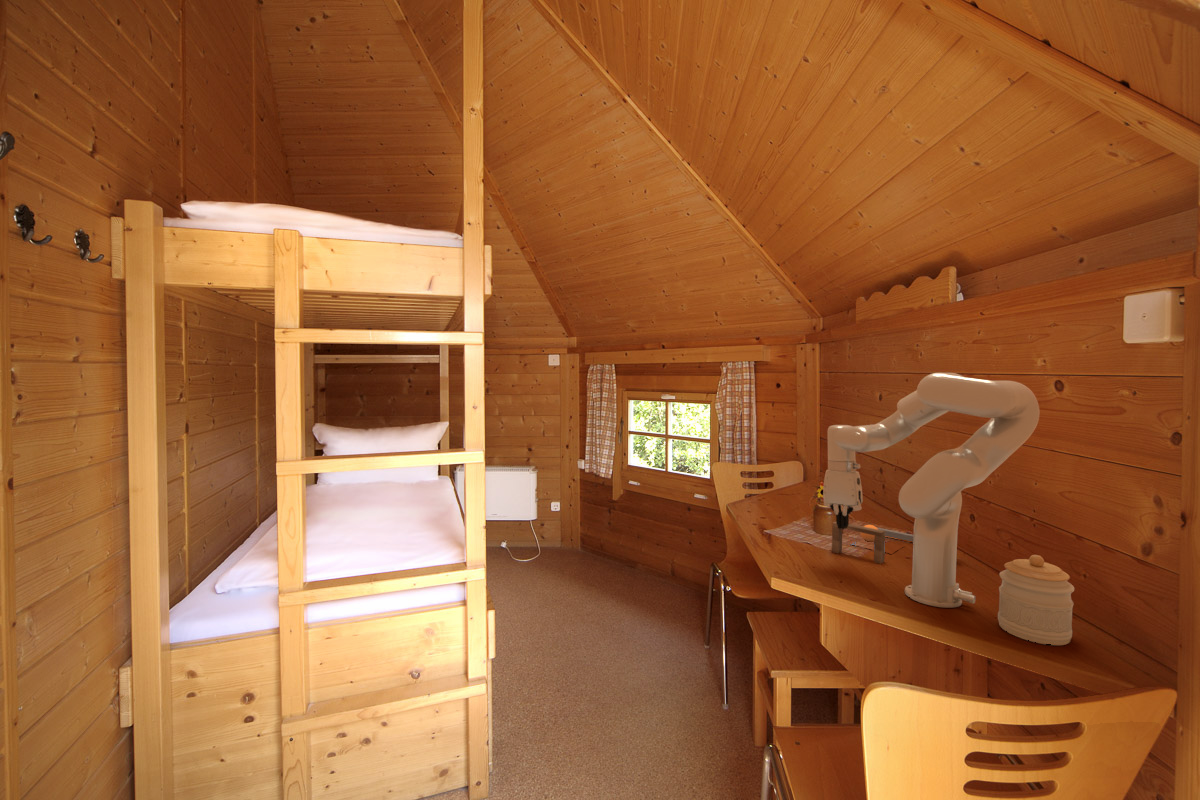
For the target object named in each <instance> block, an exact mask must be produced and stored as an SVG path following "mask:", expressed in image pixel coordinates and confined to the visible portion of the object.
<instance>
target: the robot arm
mask: <svg viewBox="0 0 1200 800" xmlns="http://www.w3.org/2000/svg"><path fill="white" fill-rule="evenodd" d="M896 408H897V409H896V411H894V413H892V414H891V415H889V416H888V417H886V418H884V419H883V420H881V421H879V422H877V423H875V424H864V425H855V426H853V425H848V424H833V425H829V426H828V428H827V469H826V470H825V473H824V474H825V475H824V479H823V488H822V491H823V492H822V497H823V506H825V507H827V508H830V510H832V511H833V512H834V515H835V517H836V521H835V522H836V524H837V525H838V528H839V529H840V528H841V529H843V530H846V529H845V528H847V526H848V525H849V524H850V523H849V522H850V521H849V519H850V517H849V515H850V514H852V513H853V512H857V511H858V512H859V511H861V510H862V504H863V497H864V496H863V487H862V481H861V475H860V472H859V471H857V469H858V470H859V469H861V464H860V463H857V461H856V452H857V453H869V452H873V451H875V452H876V451H882V450H885V449H886V448H890V447H892V446H893V445H895V444H897V443H899V442H901V441H902V440H905V439H907V438H908V437H909V436H911V435H913V433H915V432H916V431H918V429H919V428H920V427H922V426H924V425H927V424H928V423H929V422H932V421H934V420H936V419H937V418H938V417H941V416H943V415H945V414H947V413H949V412H954V413H959V414H965V415H969V416H975V417H979V418H988V419H989V420H988V421H987V422H986V423H985V424H983V425H982V426H981V427H979V428H978V429H977V430H976V431H975V432H974V433H973V434H972V435H971V436H970V437H969V438H968V439H966V440H965V442H964V443H961V445H960V446H958V447H956V448H952V449H946V450H943V451H939V452H938V453H936V454H935V455H933V456H932V457H931V458H929V459H928V460H927V461H926V462H925V463H924V464H923V465H922V466H921V467H920V468H919V469H918V470H917V471H916V472H915V473H914V474H913V475H912V476H911V477H909V479H908V480H906V482H905V483H904V484H903V485H902V486H901V488H900V490H899V493H898V503H899V506H900V508H901V510H902V512H904V513H905V514H906V515H908V516H909V517H911V518H914V523H913V534H912V535H913V543H912V544H913V545H912V567H911V568H912V572H911V584H909V585H906V586H905V587H904V594H905V595H906V596H907V597H908V598H909V597H910V598H909V599H911V600H913V601H916V602H917V603H921V604H922V605H923V604H924V605H928V606H932V607H937V608H945V609H948V608H949V609H950V608H951V609H952V608H958V607H960V606H961V605H963V601H964V602H967V603H970V604H975V603H976V595H975V594H974V595H973V592H970V591H967V590H966V591H965V590H962V588H960V583H958V582H956V580H957V579H956V578H957V577H956V575H957V554H958V553H957V552H958V550H957V549H958V548H957V547H958V531H959V530H958V529H959V521H960V516H961V515H960V514H961V510H962V506H963V497H962V496H963V495H962V491H963V490H965V489H967V488H971V487H975V486H977V485H979V484H981V483H983V482H984V481H985V480H987V478H988V477H989V476H990V475H991V474H992V473H993V472H994V471H996V470H997V468H998V467H1000V466H1001V465H1002V464H1003V463H1004V462H1006V460H1008V458H1010V457H1011V456H1012V455H1013V454H1014V453H1015V452H1016V451H1017V450H1018V449H1019V448H1020V447H1021V446H1023V444H1025V442H1027V440H1029V438H1030V437H1031V436H1032V434H1033V433H1034V431H1035V429H1036V428H1037V426H1038V423H1039V420H1040V414H1041V413H1040V412H1041V411H1040V406H1039V402H1038V399H1037V397H1036V395H1035V394H1034V392H1033V391H1032V389H1030V388H1029V387H1028V386H1026V385H1024V384H1023V383H1021V382H1018V381H1016V380H1015V381H1014V380H989V379H982V378H981V379H980V378H973V377H966V376H963V374H958V373H956V372H933V373H930V374H928V375H926V376H924V377H923V378H921V380H920V381H919V383H918V385H917V388H916V390H914V391H913V392H911V393H909V394H907V395H906V396H904V397H903V398H901V399H900V400H899V401H898V402H897V404H896Z"/></svg>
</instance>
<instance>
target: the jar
mask: <svg viewBox="0 0 1200 800" xmlns="http://www.w3.org/2000/svg"><path fill="white" fill-rule="evenodd" d="M1003 566H1004V568H1005V570H1002V571H1000V572H999V577H1000V578H1001V585H1000V586H998V591H999V598H998V603H999V605H998V612H997V620H998V625H999V627H1000V628H1001V629H1002V630H1003V631H1005V632H1006V631H1007V632H1006V633H1008V634H1010V635H1013V636H1015V637H1017V638H1019V639H1022V640H1025V641H1028V640H1029V642H1032V643H1035V642H1036V644H1041V645H1046V644H1051V645H1050V646H1064V645H1067V644H1068V645H1069V644H1070V643H1071V640H1072V637H1073V628H1072V627H1073V626H1072V625H1073V624H1072V622H1073V606H1074V601H1073V600H1072V596H1071V595H1072V593H1073V592H1074V591H1075V586H1074V585H1072V583H1070V582H1069V580H1070V578H1071V576H1070V575H1069V574H1068V573H1067V572H1066V571H1064V570H1063V569H1062V568H1060V567H1058V566H1057V565H1054V564H1052V563H1049V562H1046V561H1045V559H1044V558H1043V557H1042V556H1041V555H1038V554H1032V555H1030V556H1029V558H1028V559H1026V558H1018V559H1013V560H1012V561H1008V562H1005V563H1004V565H1003Z"/></svg>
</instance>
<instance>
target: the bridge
mask: <svg viewBox="0 0 1200 800" xmlns="http://www.w3.org/2000/svg"><path fill="white" fill-rule="evenodd" d="M843 530H847V531H852V532H856V533H860V534H861V533H866V534H870V535H875V538H874V551H873V563H874V562H875V563H874V564H878V563H879V564H878V565H882V564H883V562H884V563H885V557H886V555H885V554H886V553H885V541H886V538H885V531H882V530H877V529H872V528H867V527H864V525H863V526H862V525H857V524H851V523H849V525H848V526H847V528H845V529H841V528H840V529H839V528H838V525H837V524H836V521H834V522H832V530H831V532H832V535H831V537H832V538H831V553H834V554H840V553H842V552H843ZM881 563H882V564H881Z"/></svg>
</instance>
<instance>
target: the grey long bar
mask: <svg viewBox="0 0 1200 800" xmlns="http://www.w3.org/2000/svg"><path fill="white" fill-rule="evenodd" d="M877 528H878V530H882V531H885V536H889V537H894V538H898V539H902V540H907V541H912V542H913V535H914V534H912V533H905V532H901V531H896V530H892V529H891V530H890V529H887V528H882V527H877Z"/></svg>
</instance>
